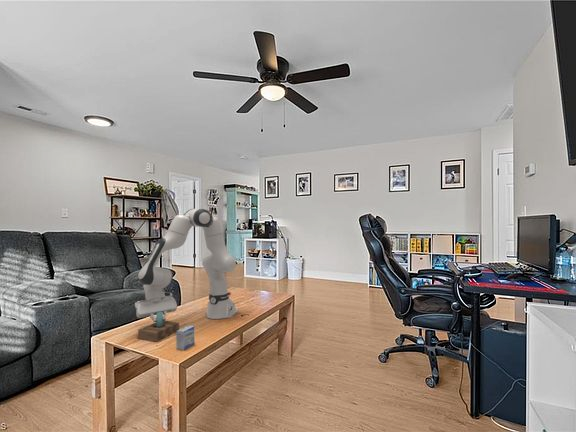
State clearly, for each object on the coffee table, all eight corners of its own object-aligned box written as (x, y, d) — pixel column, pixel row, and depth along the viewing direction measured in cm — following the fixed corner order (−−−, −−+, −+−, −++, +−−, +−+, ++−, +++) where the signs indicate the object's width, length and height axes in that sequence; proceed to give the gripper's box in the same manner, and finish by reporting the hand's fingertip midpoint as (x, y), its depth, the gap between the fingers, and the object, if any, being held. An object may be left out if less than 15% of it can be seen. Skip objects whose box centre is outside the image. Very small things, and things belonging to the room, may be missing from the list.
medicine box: (183, 350, 134) (183, 331, 134) (175, 349, 135) (176, 330, 136) (194, 344, 141) (194, 326, 141) (187, 342, 143) (187, 324, 143)
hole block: (161, 328, 162) (162, 320, 163) (179, 330, 158) (179, 322, 158) (138, 338, 148) (138, 329, 148) (156, 342, 143) (156, 332, 143)
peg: (159, 330, 155) (159, 311, 155) (163, 331, 154) (164, 312, 154) (155, 332, 152) (155, 313, 152) (159, 333, 151) (159, 313, 151)
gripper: (135, 298, 152) (139, 321, 144) (174, 292, 165) (180, 313, 157) (133, 305, 156) (137, 328, 148) (172, 298, 168) (177, 320, 161)
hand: (159, 320), depth 153 cm, fingers closed on peg, 3 cm apart
